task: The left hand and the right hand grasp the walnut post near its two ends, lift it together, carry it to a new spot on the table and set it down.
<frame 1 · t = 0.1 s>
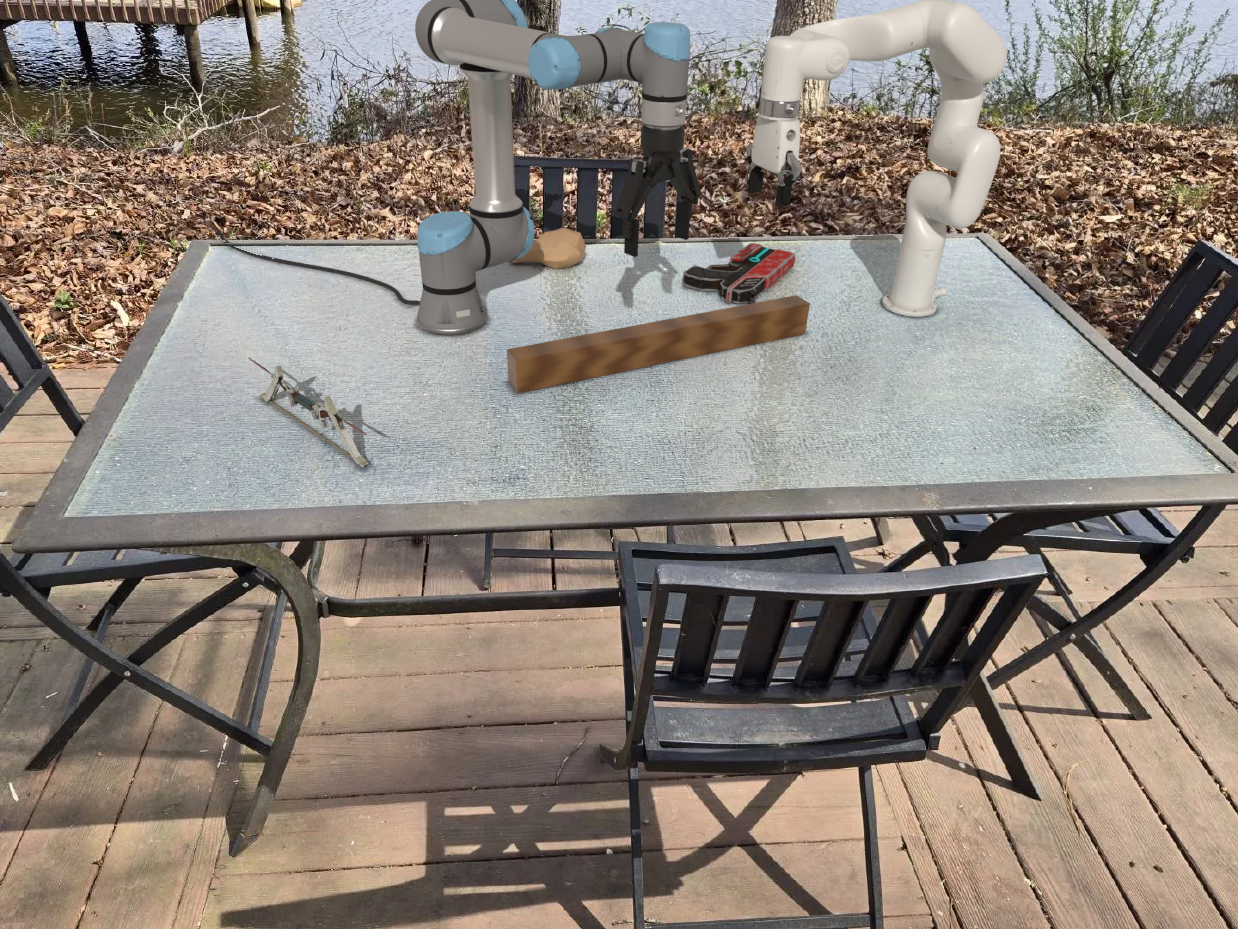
left hand: (657, 246, 161), 28 cm above the table, tool pointing down, fingers open, 13 cm apart
right hand: (768, 198, 176), 31 cm above the table, tool pointing down, fingers open, 9 cm apart
post: (665, 356, 185), on the table
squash: (547, 264, 228), on the table
bow: (312, 431, 157), on the table
gun: (740, 279, 222), on the table
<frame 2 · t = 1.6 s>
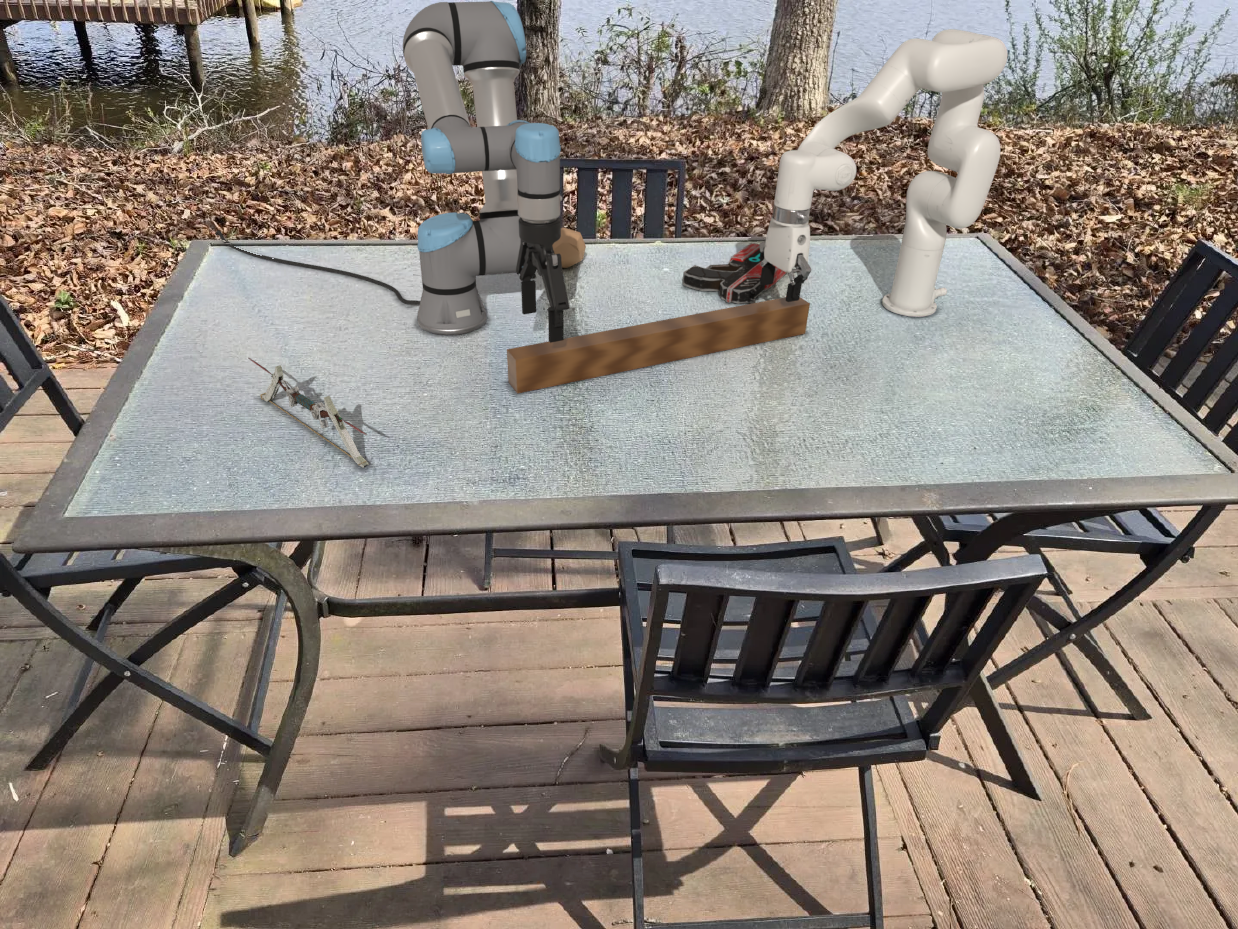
left hand: (542, 326, 168), 12 cm above the table, tool pointing down, fingers open, 13 cm apart
right hand: (779, 292, 190), 10 cm above the table, tool pointing down, fingers open, 9 cm apart
nothing on the table moved.
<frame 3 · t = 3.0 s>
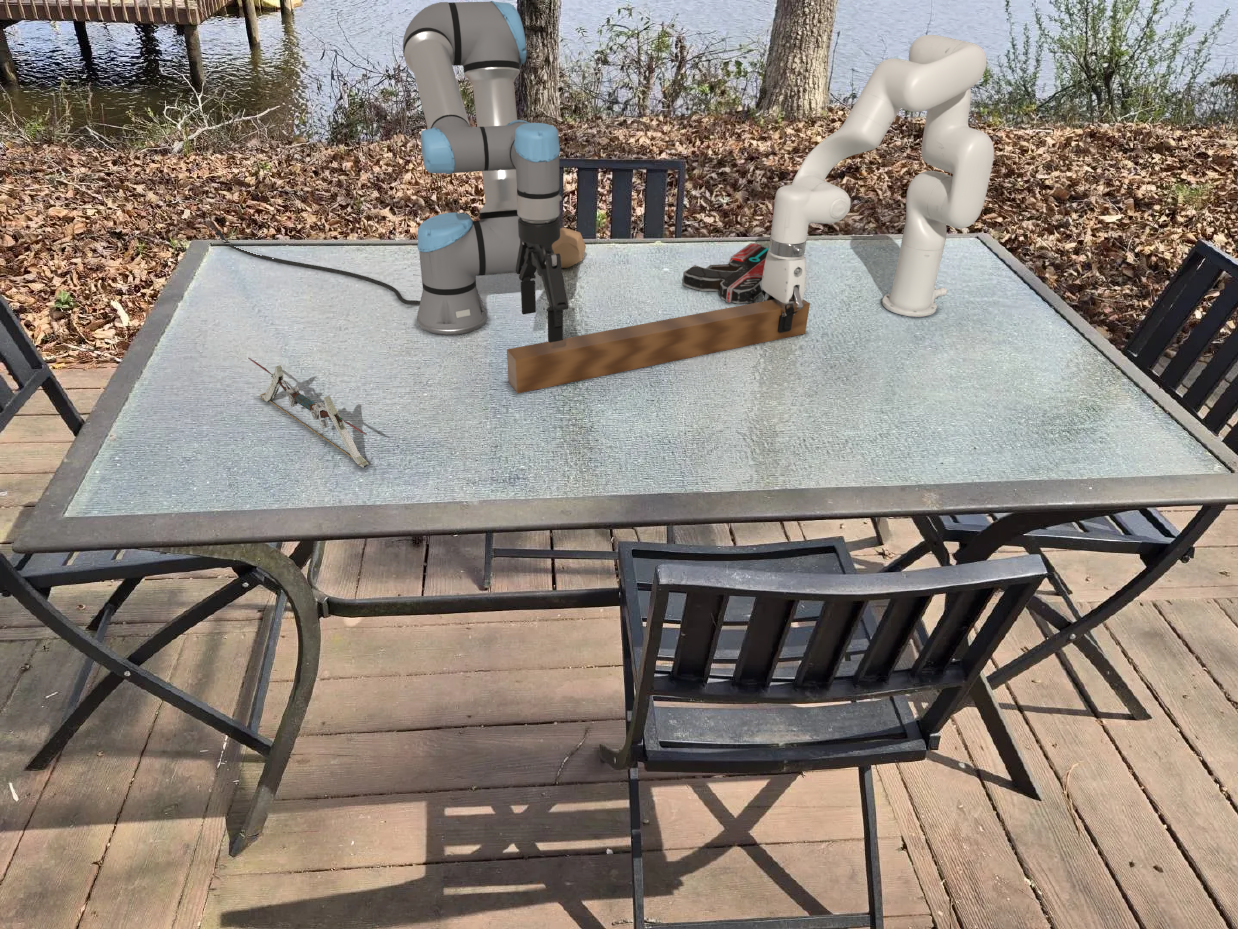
left hand: (541, 326, 168), 12 cm above the table, tool pointing down, fingers open, 13 cm apart
right hand: (776, 325, 195), 2 cm above the table, tool pointing down, fingers closed on post, 5 cm apart
post: (665, 356, 185), on the table, touching right hand
everything else where it was.
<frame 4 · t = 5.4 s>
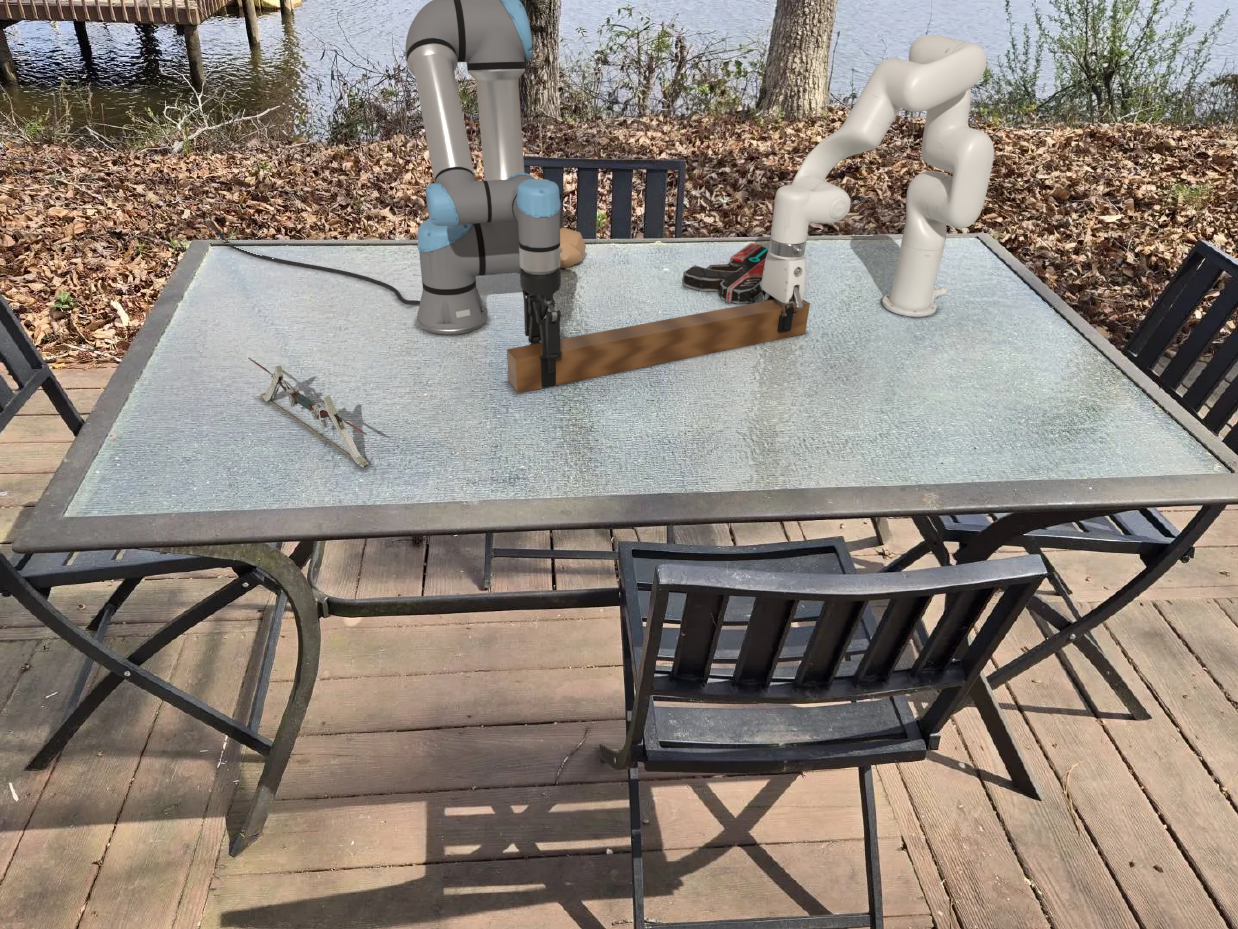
left hand: (543, 379, 174), 1 cm above the table, tool pointing down, fingers closed on post, 5 cm apart
right hand: (776, 325, 195), 2 cm above the table, tool pointing down, fingers closed on post, 5 cm apart
post: (665, 356, 185), on the table, touching left hand, right hand
everything else where it was.
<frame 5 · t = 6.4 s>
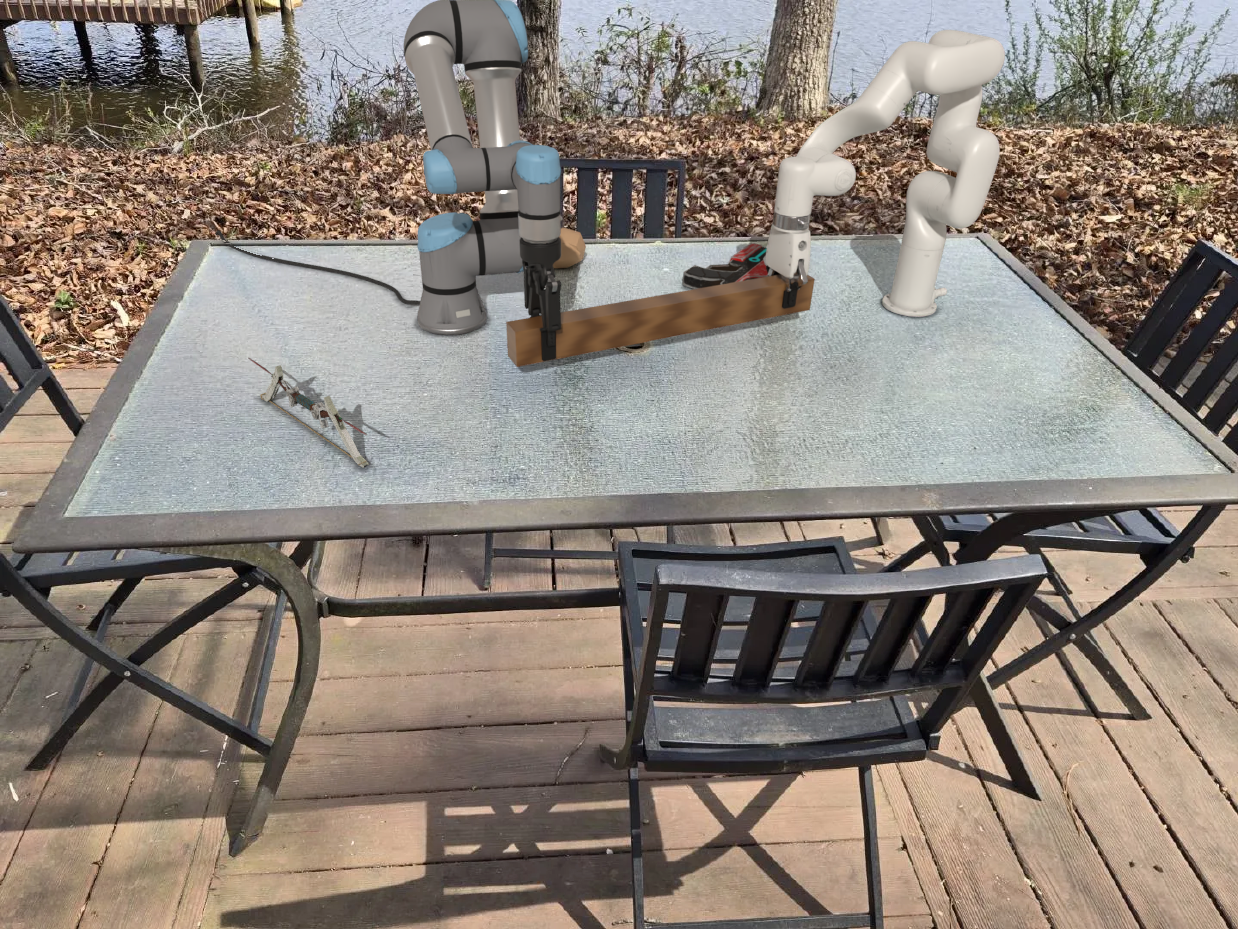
left hand: (543, 352, 171), 6 cm above the table, tool pointing down, fingers closed on post, 5 cm apart
right hand: (780, 301, 192), 8 cm above the table, tool pointing down, fingers closed on post, 5 cm apart
post: (668, 331, 182), point 6 cm above the table, touching left hand, right hand
everything else where it was.
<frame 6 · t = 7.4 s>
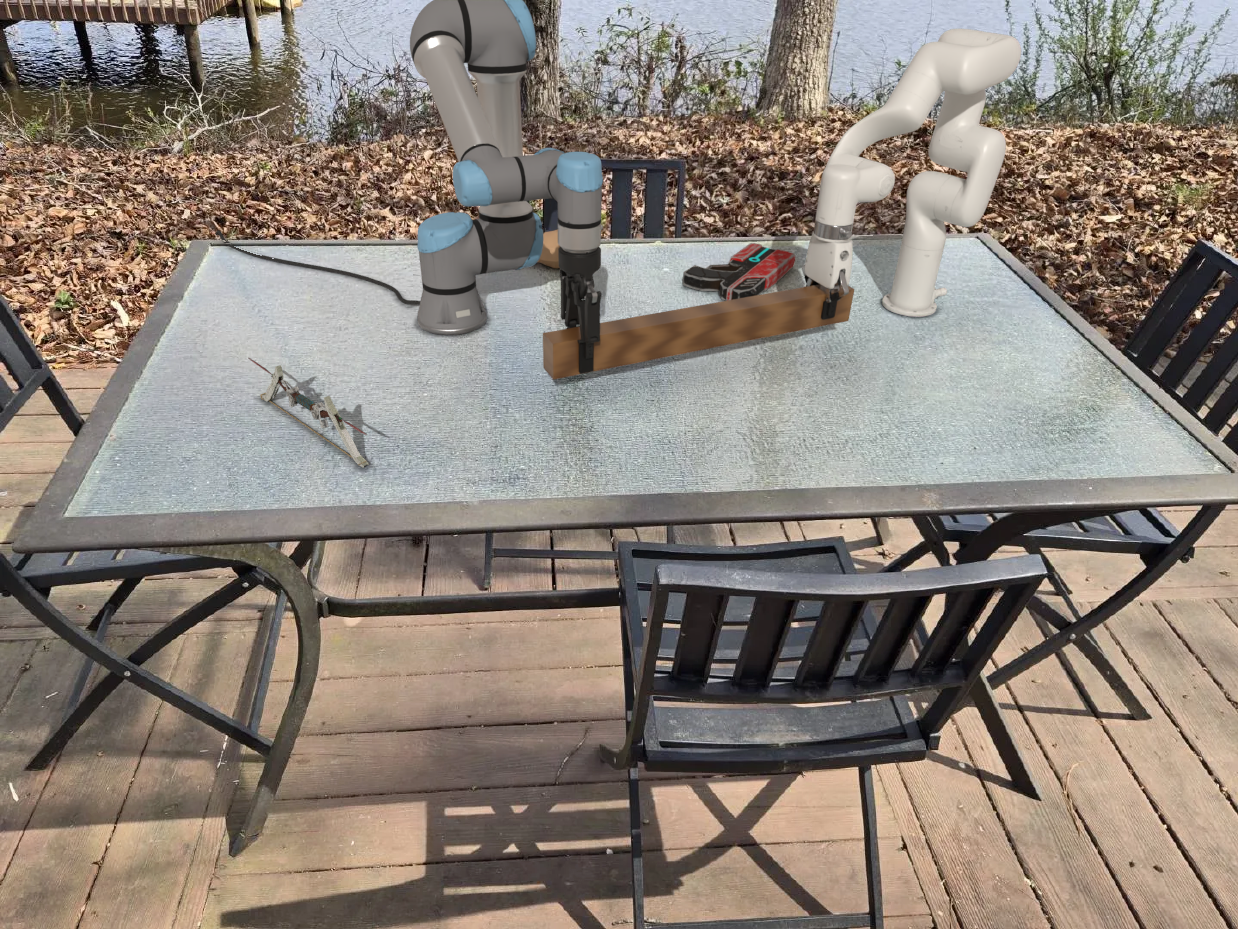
left hand: (579, 364, 166), 7 cm above the table, tool pointing down, fingers closed on post, 5 cm apart
right hand: (819, 311, 187), 8 cm above the table, tool pointing down, fingers closed on post, 5 cm apart
post: (705, 343, 177), point 6 cm above the table, touching left hand, right hand
everything else where it was.
when the left hand's fingers open (2 cm above the table, at t = 9.8 s): post drops 1 cm, on the table.
when the right hand's fingers open (3 cm above the table, at t = 9.9 s): post drops 1 cm, on the table.
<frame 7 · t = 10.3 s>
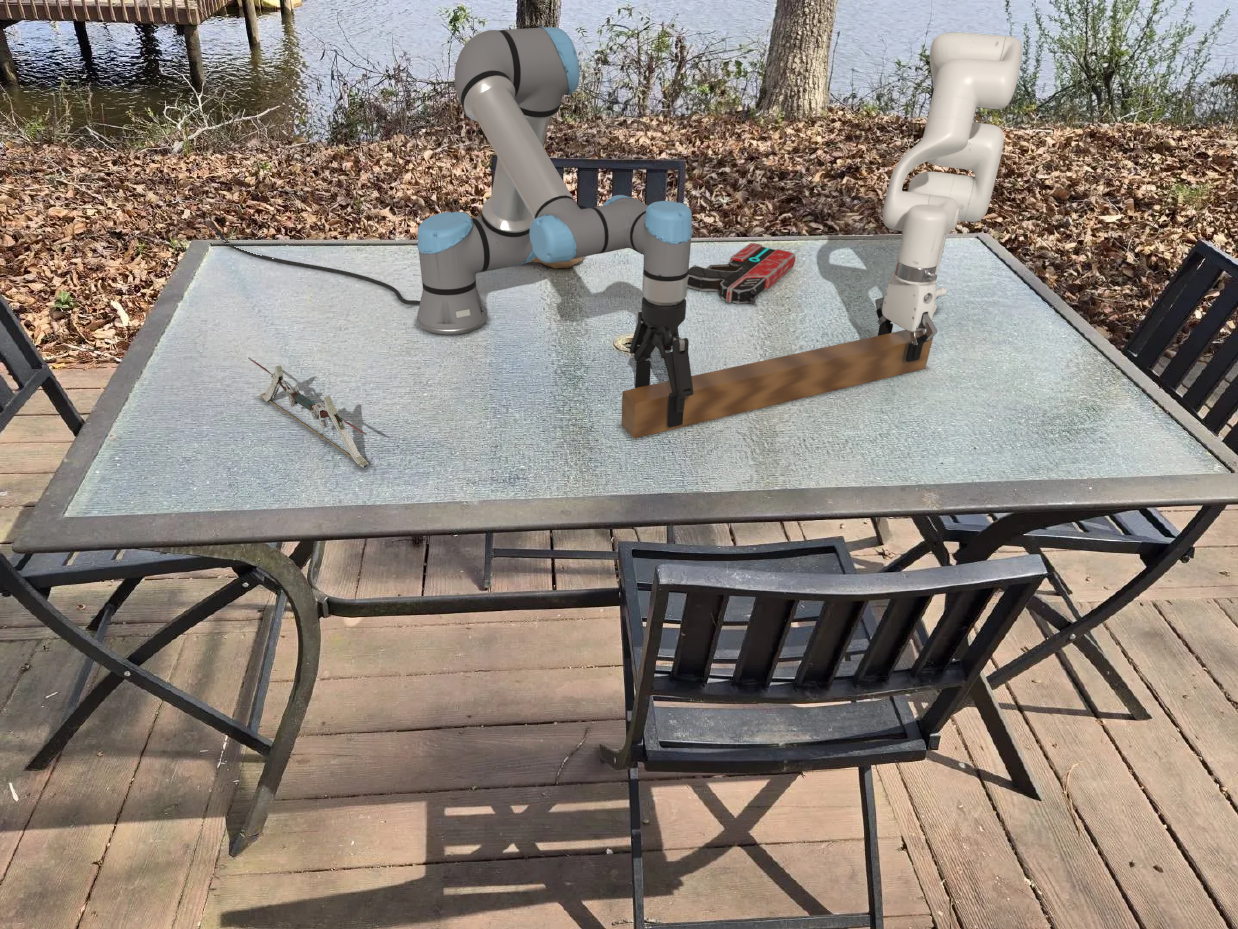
left hand: (658, 408, 159), 4 cm above the table, tool pointing down, fingers open, 12 cm apart
right hand: (897, 350, 180), 4 cm above the table, tool pointing down, fingers open, 8 cm apart
post: (783, 395, 172), on the table
everything else where it was.
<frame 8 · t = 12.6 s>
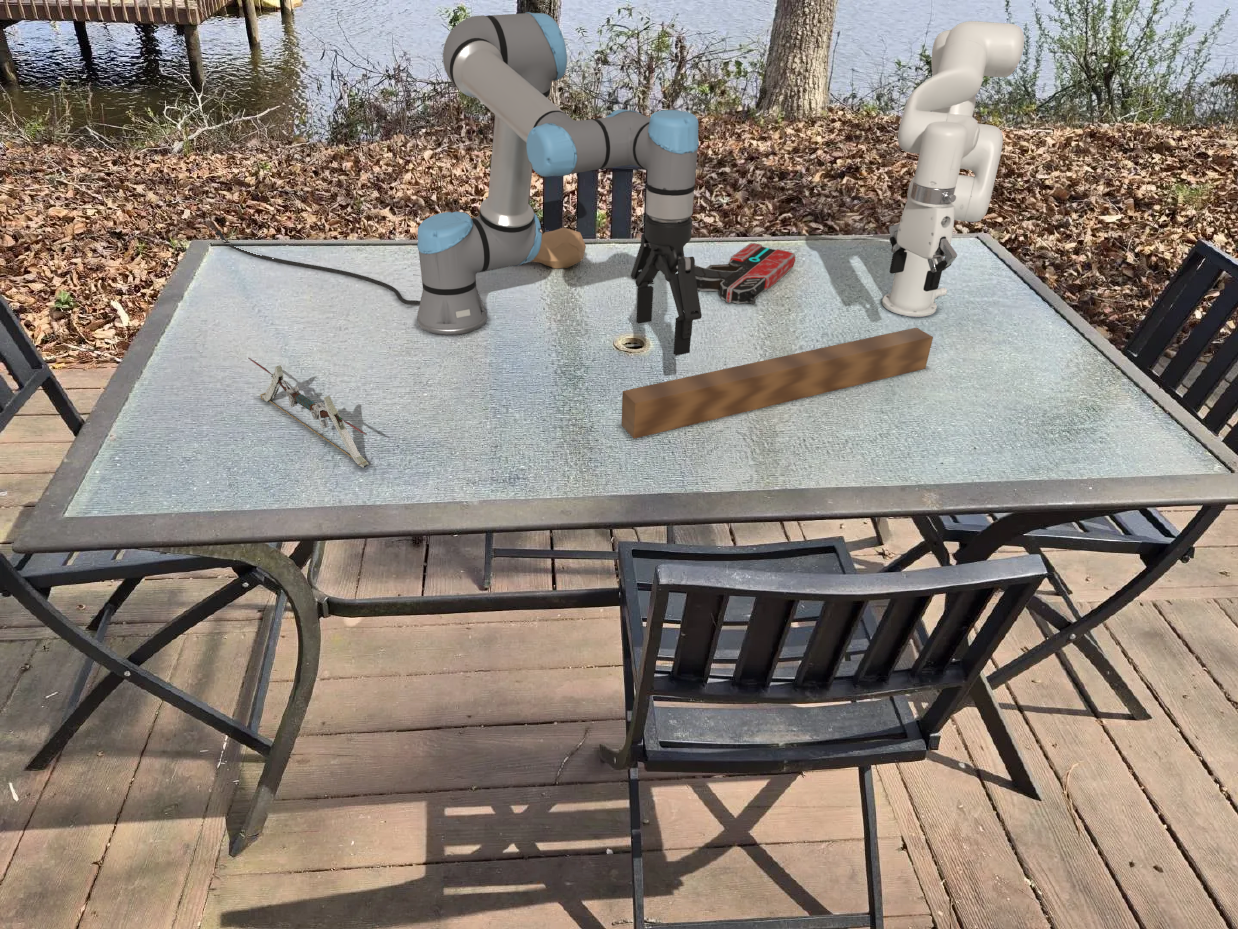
left hand: (662, 337, 152), 18 cm above the table, tool pointing down, fingers open, 13 cm apart
right hand: (912, 280, 172), 20 cm above the table, tool pointing down, fingers open, 9 cm apart
nothing on the table moved.
at the end: post inside the target area (0.4 cm from its centre), on the table; post tilted 0°; post never tilted more than 1° during the clip; both hands held the post at the same time; the left hand is holding nothing; the right hand is holding nothing; post at rest at the end (0.0 cm/s) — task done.
